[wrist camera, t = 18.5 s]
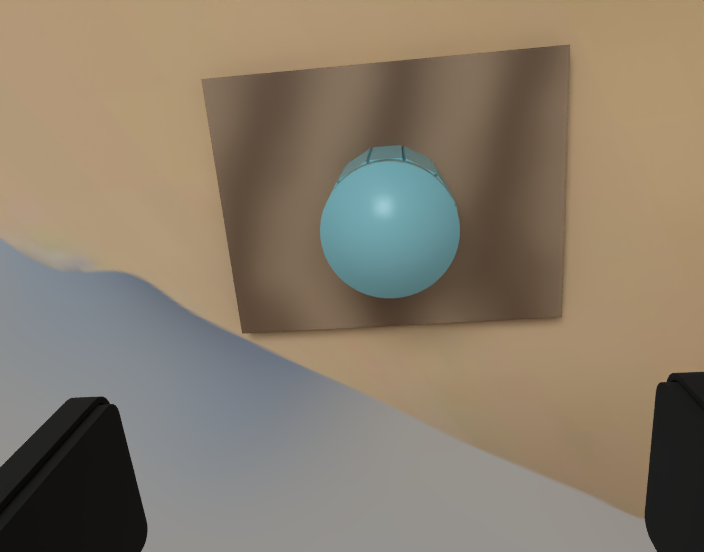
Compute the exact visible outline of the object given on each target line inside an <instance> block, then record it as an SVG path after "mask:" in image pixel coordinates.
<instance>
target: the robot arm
mask: <svg viewBox="0 0 704 552" xmlns="http://www.w3.org/2000/svg"><path fill="white" fill-rule="evenodd" d="M645 523H646V528H647V531H648V535H649V537H650V539H651V541H652V543H653V545H654V547H655V549H656V550H657V552H704V372H688V373H672V374H671V375H669V377H668V379H667V382H661V383H659V384H658V386H657V389H656V398H655V409H654V419H653V430H652V441H651V452H650V463H649V474H648V484H647V495H646V506H645ZM146 537H147V521H146V517H145V513H144V509H143V505H142V502H141V497H140V494H139V490H138V485H137V482H136V477H135V473H134V469H133V465H132V462H131V457H130V453H129V450H128V446H127V442H126V438H125V434H124V430H123V426H122V422H121V418H120V414H119V411H118V408H117V407H116V406H115V405H114V404H110V403H109V401H108V400H107V399H106V398H104V397H80V398H70V399H69V400H67V401H66V402H65V403H64V404H63V405H62V406H61V407H60V408H59V409H58V410H57V411H56V412H55V413H54V414H53V415H52V416H51V417H50V418H49V419H48V420H47V421H46V422H45V423H44V424H43V425H42V426H41V427H40V428H39V429H38V430H37V431H36V432H35V433H34V434H33V435H32V436H31V437H30V438H29V439H28V440H27V441H26V442H25V443H24V444H23V445H22V446H21V447H20V448H19V449H18V450H17V451H16V452H15V453H14V454H13V455H12V456H11V457H10V458H9V459H8V460H7V461H6V462H5V463H4V464H3V465H2V466H1V467H0V552H141V551H142V549H143V547H144V544H145V542H146Z"/></svg>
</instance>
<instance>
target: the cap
mask: <svg viewBox="0 0 704 552" xmlns="http://www.w3.org/2000/svg"><path fill="white" fill-rule="evenodd" d="M455 203H456V202H455V200H454V198H453V196H452V194H451V192H450V190H449V188H448V185H447V183H446V182H445V180H444V179H443V177H442V176H441V174H440V172H439V171H438V169H437V168H436V166H435V165H434V163H433V161H430V158H428V157H426V156H424V155H422V154H420V153H418V152H416V151H414V150H412V149H410V148H408V147H406V146H404V148H403V150H402V147H401V145H396V146H382V147H373V149H372V150H371V149H368V150H367V151H365V152H364V153H362V154H361V155H359V156H358V157H356V158H355V159H353V160H352V161H351V162H349V163H348V164H347V165H346V167H344V169H343V171H342V173H341V175H340V176H339V178H338V180H337V182H336V184H335V186H334V188H333V190H332V192H331V195H330V197H329V199H328V200H327V202H326V205H325V207H324V209H323V213H322V217H321V224H320V239H321V245H322V248H323V252H324V255H325V257H326V259H327V261H328V263H329V265H330V266H331V268H332V269H333V271H334V272H335V273H336V274H337V276H338V277H339V278H340V279H342V280H343V281H344V282H345V283H346V284H348V285H349V286H350V287H352V288H354V289H355V290H357V291H359V292H361V293H364V294H366V295H370V296H374V297H379V298H401V297H406V296H410V295H413V294H416V293H418V292H420V291H422V290H424V289H426V288H428V287H429V286H431V285H432V284H434V283H435V282H436V281H437V280H438V279H439V278H440V277H441V276H442V275H443V274H444V273H445V272H446V271H447V269H448V267H449V266H450V264H451V263H452V261H453V259H454V257H455V254H456V251H457V248H458V244H459V238H460V224H459V217H458V213H457V206H456V204H455Z"/></svg>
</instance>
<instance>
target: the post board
mask: <svg viewBox="0 0 704 552" xmlns="http://www.w3.org/2000/svg"><path fill="white" fill-rule="evenodd" d="M569 59H570V45H562V46H551V47H540V48H530V49H519V50H508V51H498V52H487V53H477V54H466V55H455V56H445V57H434V58H423V59H413V60H402V61H391V62H381V63H370V64H359V65H349V66H338V67H327V68H317V69H306V70H295V71H285V72H274V73H264V74H253V75H242V76H232V77H221V78H210V79H201V80H202V86H203V92H204V99H205V105H206V111H207V117H208V123H209V130H210V136H211V142H212V148H213V155H214V161H215V167H216V173H217V179H218V186H219V192H220V198H221V204H222V210H223V217H224V223H225V229H226V235H227V242H228V248H229V254H230V260H231V266H232V273H233V279H234V285H235V291H236V297H237V304H238V310H239V316H240V322H241V329H242V333H260V332H280V331H299V330H319V329H338V328H357V327H377V326H396V325H416V324H435V323H455V322H474V321H493V320H513V319H532V318H552V317H562V289H563V256H564V223H565V190H566V157H567V125H568V92H569ZM396 145H401V147H402V150H403V148H404V146H406V147H408V148H410V149H412V150H414V151H416V152H418V153H420V154H422V155H424V156H426V157H428V158H430V161H433V163H434V165H435V166H436V168H437V169H438V171H439V172H440V174H441V176H442V177H443V179H444V180H445V182H446V183H447V185H448V188H449V190H450V192H451V194H452V196H453V198H454V200H455V202H456V203H455V204H456V206H457V213H458V217H459V224H460V238H459V244H458V248H457V251H456V254H455V257H454V259H453V261H452V263H451V264H450V266H449V267H448V269H447V271H446V272H445V273H444V274H443V275H442V276H441V277H440V278H439V279H438V280H437V281H436V282H435V283H434V284H432V285H431V286H429V287H428V288H426V289H424V290H422V291H420V292H418V293H416V294H413V295H410V296H406V297H401V298H379V297H374V296H370V295H366V294H364V293H361V292H359V291H357V290H355V289H354V288H352V287H350V286H349V285H348V284H346V283H345V282H344V281H343V280H342V279H340V278H339V277H338V276H337V274H336V273H335V272H334V271H333V269H332V268H331V266H330V265H329V263H328V261H327V259H326V257H325V255H324V252H323V248H322V245H321V239H320V224H321V217H322V213H323V209H324V207H325V205H326V202H327V200H328V199H329V197H330V195H331V192H332V190H333V188H334V186H335V184H336V182H337V180H338V178H339V176H340V175H341V173H342V171H343V169H344V167H346V165H347V164H348V163H349V162H351V161H352V160H353V159H355V158H356V157H358V156H359V155H361V154H362V153H364V152H365V151H367V150H368V149H371V150H372V149H373V147H382V146H396Z"/></svg>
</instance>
